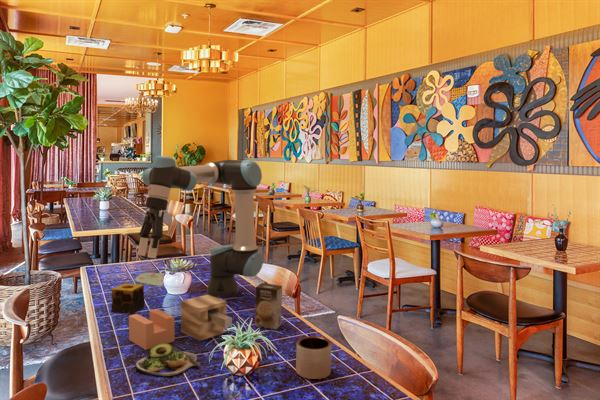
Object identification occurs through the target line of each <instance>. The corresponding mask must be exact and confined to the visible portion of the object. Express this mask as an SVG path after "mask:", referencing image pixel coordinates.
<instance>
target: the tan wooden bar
mask: <svg viewBox="0 0 600 400" xmlns="http://www.w3.org/2000/svg"><path fill="white" fill-rule="evenodd" d="M208 321H210V322H212V323H214V324H217V325H219V326H221V327H224V328H226V329H227V328H231V327H233V318H232V317H231V316H228V315H227V314H226V315H224V314H221V313H219V312H216V311H213V310H211V309H210V310H208Z"/></svg>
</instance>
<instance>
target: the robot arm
mask: <svg viewBox="0 0 600 400" xmlns="http://www.w3.org/2000/svg"><path fill="white" fill-rule="evenodd" d="M176 163H177V161H176V159H174V158H172V157H170V156H165V155H157V156H155V158H154V161H153V164H152V167H151V168H146V169H145V170H144V171H143V173H142V182H143V183H144V184H145V186H147V188H146V189H147V190H148V191H147V197H146V199H145V204H144V205H145V207H146V208H147V209H149V210H147V211H146V212H145V217H144V220H143V223H142V225H141V228H140V231H139V236H140V239H139V244H138V249H137V255H138V256H141V257H142V256H143V257H146V253H147V250H148V253H147V258H151V259H156V258H157V253H158V250H159V244H160V240H161V239H162V238H163V232H164V228H163V227H164V215H165V211H167V207H168V204H169V201H168V200H169V199H170V194H171V189H177V190H178V189H180V190H182V191H187V192H190V191H193V190H194V188H196V186H197V184H198V183H207V184H220V185H227V186H230V190H231V191H232V193H234V211H235V212H234V217H235V221H234V222H235V244H223V245H219V246H218V245H217V246H214V247H211V249H210V256H209V259H210V260H209V265H210V268H209V269H210V270H209V271H210V275H209V276H210V278H209V281H208V284H207V287H206V295H207V294H208V295H211V296H213V297H216V298H229V297H233V296H236V295H237V294H239V286H238V283H237V280H236V277H235V275H238V276H242V277H245V278H246V277H247V278H248V277H251V278H253V277H256V276H257V275H258V274H259V273H260V272H261V270H262V267H263V265H264V256H263V254H262V253H261V252H259V248H258V245H257V244H256V242H255V212H254V211H255V210H254V208H255V204H254V203H255V202H254V201H255V200H254V194H255V192H256V191H257V189H258V188H257V187H258V186H259V185H260V184H261V182H262V178H263V175H262V170H261V167H260V165H259V164H258V163H257V162H256V161H253V160H249V159H225V160H219V161H210V162H206V163H205V164H201V165H198V164H197V165H187V166H176V165H177V164H176ZM150 233H151V234H152V235H151V236H150ZM149 239H150V242H149ZM148 242H149V248H148ZM147 248H148V249H147Z"/></svg>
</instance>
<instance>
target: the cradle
mask: <svg viewBox="0 0 600 400" xmlns="http://www.w3.org/2000/svg"><path fill="white" fill-rule="evenodd" d="M128 332H129V333H128V339H129V341H131V342H132V343H133V344H135V345H137V346H138V347H140V348H142V349H143V350H145V351H147V350H150V349H151V348H153V347H154V346H156V345H158V344H161V343H168V344H170V343H174V342H175V338H176V337H175V335H176V334H175V316H174V315H172V314H170V313H167V312H165V311H163V310H161V309H159V308H155V309H150V310H149V318H146V317H145V316H142V315H140V314H138V313H135V314H134V313H133V314H130V315H128Z"/></svg>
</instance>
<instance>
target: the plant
mask: <svg viewBox="0 0 600 400" xmlns="http://www.w3.org/2000/svg"><path fill="white" fill-rule="evenodd" d="M164 274H166V273H164V272H162V273H160V272H158V271H157V269H156V268H155V267H154V264H153V262H150V264H148V270H146V272H143V273H140V274H139V275H137V276H136V277H135V278H134V282H139V283H142V284H147V285H154V286H158V287H159V286H164V285H163V277H164Z"/></svg>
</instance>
